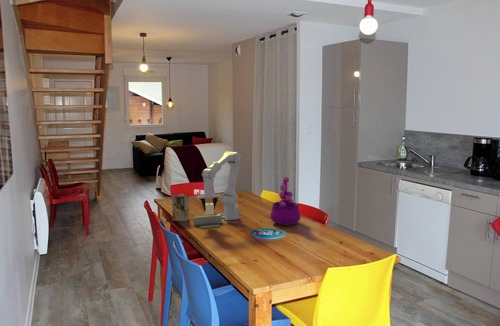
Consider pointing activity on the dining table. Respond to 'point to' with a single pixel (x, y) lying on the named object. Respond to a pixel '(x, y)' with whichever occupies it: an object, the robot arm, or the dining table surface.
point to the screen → (207, 219)
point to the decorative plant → (285, 207)
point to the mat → (209, 225)
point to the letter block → (209, 208)
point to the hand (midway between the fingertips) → (209, 210)
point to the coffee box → (180, 207)
